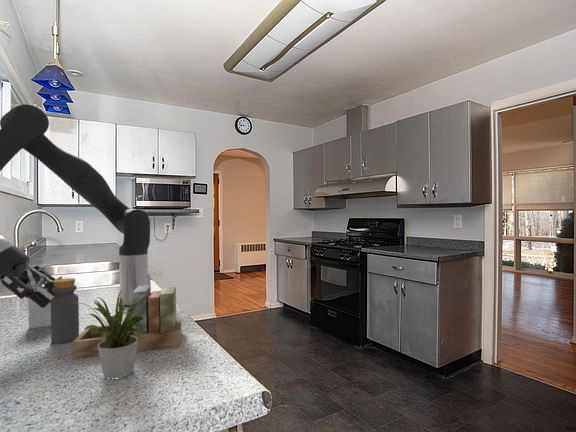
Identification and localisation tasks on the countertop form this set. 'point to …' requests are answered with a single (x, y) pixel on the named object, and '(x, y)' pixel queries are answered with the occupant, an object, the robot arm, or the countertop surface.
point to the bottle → (64, 312)
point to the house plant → (117, 338)
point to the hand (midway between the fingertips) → (55, 300)
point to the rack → (158, 322)
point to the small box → (40, 310)
